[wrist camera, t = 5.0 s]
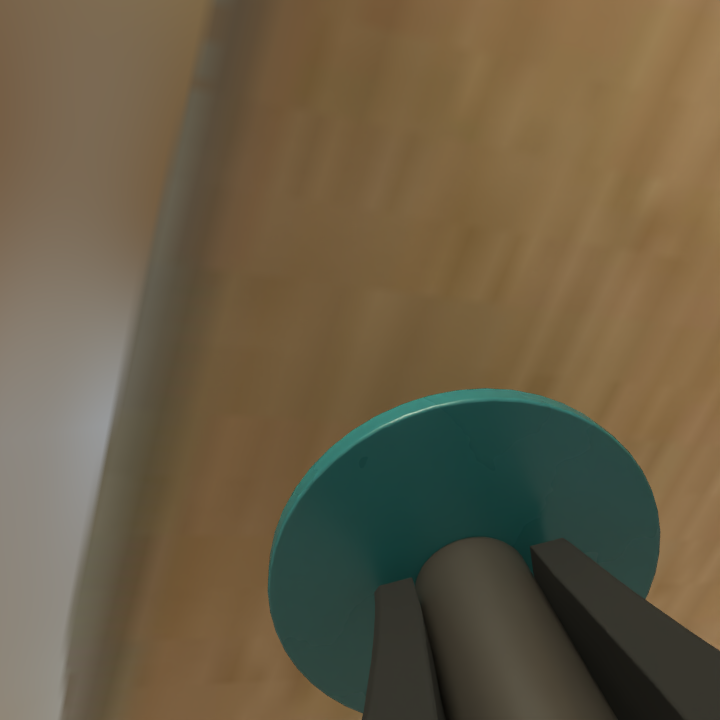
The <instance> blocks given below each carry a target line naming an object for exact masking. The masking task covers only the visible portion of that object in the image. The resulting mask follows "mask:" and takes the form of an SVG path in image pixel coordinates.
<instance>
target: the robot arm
mask: <svg viewBox="0 0 720 720" xmlns="http://www.w3.org/2000/svg"><path fill="white" fill-rule="evenodd" d="M530 552H531V559H532V566H533V573H534V578H535V579H536V581H537V583H538V584H539V586H540V588H541V590H542V591H543V593H544V595H545V596H546V598H547V600H548V602H549V603H550V605H551V607H552V608H553V610H554V612H555V614H556V615H557V617H558V619H559V620H560V622H561V624H562V625H563V627H564V629H565V631H566V632H567V634H568V636H569V637H570V639H571V641H572V642H573V644H574V646H575V648H576V649H577V651H578V653H579V654H580V656H581V658H582V660H583V661H584V663H585V665H586V666H587V668H588V670H589V671H590V673H591V675H592V677H593V678H594V680H595V682H596V683H597V685H598V687H599V689H600V690H601V692H602V694H603V695H604V697H605V699H606V701H607V702H608V704H609V706H610V707H611V709H612V711H613V712H614V714H615V716H616V718H617V719H618V720H720V651H719V650H717V649H716V648H714V647H713V646H711V645H710V644H708V643H707V642H705V641H704V640H702V639H701V638H699V637H698V636H697V635H695V634H694V633H692V632H691V631H689V630H688V629H686V628H685V627H683V626H682V625H681V624H679V623H678V622H676V621H675V620H673V619H672V618H671V617H669V616H668V615H666V614H665V613H663V612H662V611H661V610H659V609H658V608H656V607H655V606H653V605H652V604H651V603H649V602H648V601H646V600H645V599H644V598H642V597H641V596H640V595H638V594H637V593H636V592H634V591H633V590H631V589H630V588H629V587H627V586H626V585H625V584H623V583H622V582H621V581H619V580H618V579H617V578H615V577H614V576H613V575H611V574H610V573H609V572H608V571H606V570H605V569H604V568H602V567H601V566H600V565H598V564H597V563H596V562H595V561H593V560H592V559H591V558H589V557H588V556H587V555H586V554H584V553H583V552H582V551H580V550H579V549H578V548H577V547H575V546H574V545H573V544H572V543H570V542H569V541H567V540H566V539H564V538H559V539H555V540H551V541H548V542H544V543H540V544H536V545H532V546H530ZM374 596H375V623H374V638H373V647H372V657H371V665H370V672H369V678H368V685H367V692H366V699H365V705H364V711H363V717H362V720H447V719H446V715H445V711H444V707H443V704H442V700H441V695H440V691H439V686H438V681H437V675H436V670H435V665H434V660H433V655H432V651H431V646H430V642H429V638H428V634H427V630H426V626H425V622H424V618H423V614H422V610H421V606H420V603H419V599H418V596H417V592H416V589H415V585H414V582H413V578H412V577H411V578H407V579H403V580H399V581H395V582H392V583H388V584H384V585H380V586H379V587H378V588H377V589H376V591H375V592H374Z"/></svg>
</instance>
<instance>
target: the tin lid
mask: <svg viewBox="0 0 720 720" xmlns="http://www.w3.org/2000/svg"><path fill="white" fill-rule="evenodd" d="M559 538H564V539H566V540H567V541H569V542H570V543H572V544H573V545H574V546H575V547H577V548H578V549H579V550H580V551H582V552H583V553H584V554H586V555H587V556H588V557H589V558H591V559H592V560H593V561H595V562H596V563H597V564H598V565H600V566H601V567H602V568H604V569H605V570H606V571H608V572H609V573H610V574H611V575H613V576H614V577H615V578H617V579H618V580H619V581H621V582H622V583H623V584H625V585H626V586H627V587H629V588H630V589H631V590H633V591H634V592H636V593H637V594H638V595H640V596H641V597H642V598H644V599H646V597H647V595H648V593H649V590H650V587H651V584H652V581H653V578H654V575H655V572H656V567H657V562H658V556H659V547H660V526H659V517H658V510H657V507H656V503H655V500H654V496H653V492H652V490H651V487H650V485H649V483H648V481H647V479H646V477H645V475H644V473H643V471H642V469H641V468H640V466H639V465H638V464H637V462H636V461H635V459H634V458H633V457H632V455H631V454H630V452H629V451H628V450H627V449H626V448H625V447H624V446H623V445H622V444H621V443H620V442H619V441H618V440H617V439H616V438H615V437H614V436H612V435H611V434H610V433H609V432H607V431H606V430H605V429H604V428H602V427H601V426H600V425H598V424H597V423H596V422H594V421H593V420H591V419H590V418H589V417H587V416H586V415H584V414H583V413H581V412H579V411H577V410H575V409H573V408H571V407H569V406H567V405H565V404H563V403H561V402H558V401H555V400H552V399H549V398H546V397H543V396H540V395H536V394H531V393H526V392H521V391H515V390H504V389H487V388H484V389H469V390H456V391H451V392H446V393H440V394H435V395H430V396H427V397H423V398H420V399H417V400H414V401H411V402H408V403H405V404H402V405H399V406H397V407H395V408H393V409H391V410H388V411H386V412H384V413H382V414H380V415H377V416H375V417H374V418H372V419H371V420H369V421H367V422H366V423H364V424H362V425H361V426H359V427H357V428H356V429H354V430H352V431H351V432H350V433H349V434H347V435H346V436H345V437H343V438H342V439H341V440H340V441H338V442H337V443H336V444H335V445H333V446H332V447H331V448H330V449H329V450H328V451H327V452H326V453H325V454H324V455H323V456H322V457H321V458H320V459H319V460H318V461H317V462H316V463H315V464H314V465H313V466H312V467H311V468H310V470H309V471H308V472H307V474H306V475H305V476H304V477H303V479H302V480H301V481H300V483H299V484H298V485H297V487H296V488H295V490H294V492H293V493H292V495H291V497H290V499H289V501H288V502H287V504H286V506H285V508H284V510H283V512H282V515H281V517H280V520H279V523H278V525H277V528H276V530H275V534H274V539H273V543H272V548H271V552H270V562H269V576H268V597H269V606H270V613H271V616H272V620H273V623H274V627H275V630H276V633H277V635H278V637H279V639H280V641H281V643H282V645H283V648H284V650H285V652H286V653H287V655H288V656H289V657H290V659H291V660H292V662H293V663H294V665H295V666H296V667H297V669H298V670H299V671H300V672H301V673H302V674H303V675H304V676H305V677H306V678H307V679H308V680H309V681H310V682H311V683H312V684H313V685H314V686H316V687H317V688H318V689H320V690H321V691H322V692H323V693H325V694H326V695H327V696H329V697H331V698H332V699H334V700H336V701H338V702H339V703H341V704H343V705H344V706H346V707H349V708H351V709H354V710H356V711H358V712H361V713H363V711H364V705H365V699H366V692H367V685H368V678H369V672H370V665H371V657H372V647H373V638H374V623H375V596H374V592H375V591H376V589H377V588H378V587H379V586H380V585H384V584H388V583H392V582H395V581H399V580H403V579H407V578H411V577H412V578H413V582H414V585H415V589H416V592H417V596H418V599H419V603H420V606H421V610H422V614H423V618H424V622H425V626H426V630H427V634H428V638H429V642H430V646H431V651H432V655H433V660H434V665H435V670H436V675H437V681H438V686H439V691H440V695H441V700H442V704H443V707H444V711H445V715H446V719H447V720H618V719H617V718H616V716H615V714H614V712H613V711H612V709H611V707H610V706H609V704H608V702H607V701H606V699H605V697H604V695H603V694H602V692H601V690H600V689H599V687H598V685H597V683H596V682H595V680H594V678H593V677H592V675H591V673H590V671H589V670H588V668H587V666H586V665H585V663H584V661H583V660H582V658H581V656H580V654H579V653H578V651H577V649H576V648H575V646H574V644H573V642H572V641H571V639H570V637H569V636H568V634H567V632H566V631H565V629H564V627H563V625H562V624H561V622H560V620H559V619H558V617H557V615H556V614H555V612H554V610H553V608H552V607H551V605H550V603H549V602H548V600H547V598H546V596H545V595H544V593H543V591H542V590H541V588H540V586H539V584H538V583H537V581H536V579H535V578H534V573H533V566H532V559H531V552H530V546H532V545H536V544H540V543H544V542H548V541H551V540H555V539H559Z"/></svg>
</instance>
